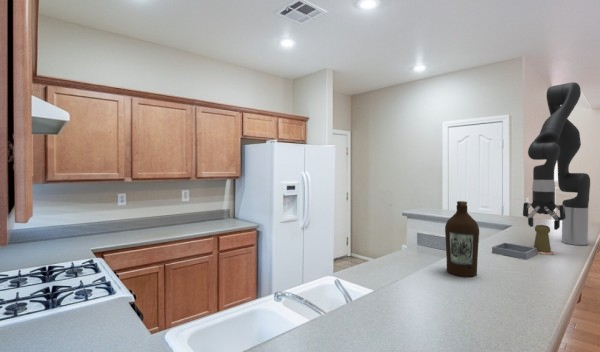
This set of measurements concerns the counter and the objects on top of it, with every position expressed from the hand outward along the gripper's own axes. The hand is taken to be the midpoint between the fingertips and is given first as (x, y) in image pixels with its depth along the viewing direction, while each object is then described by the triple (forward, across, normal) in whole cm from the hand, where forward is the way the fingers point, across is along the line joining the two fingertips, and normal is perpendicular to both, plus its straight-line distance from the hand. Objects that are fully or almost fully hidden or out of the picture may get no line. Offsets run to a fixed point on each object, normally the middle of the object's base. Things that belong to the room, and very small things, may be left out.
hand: (543, 228), depth 133 cm
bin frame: (+10, +7, +12) cm, 17 cm away
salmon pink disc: (+10, 0, 0) cm, 10 cm away
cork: (+10, 0, 0) cm, 10 cm away
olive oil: (+10, +9, +52) cm, 54 cm away
